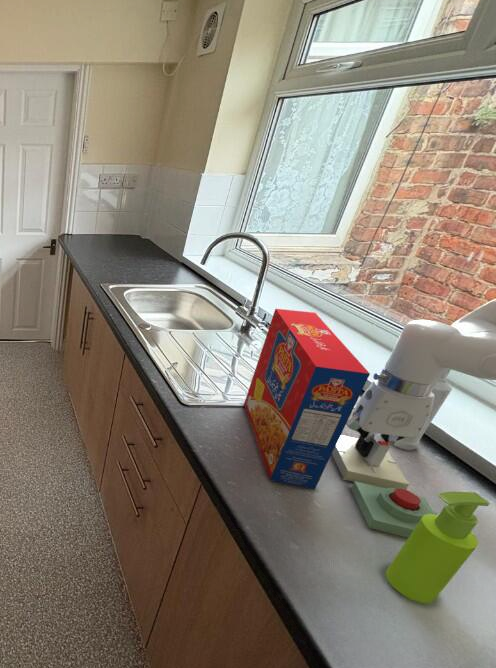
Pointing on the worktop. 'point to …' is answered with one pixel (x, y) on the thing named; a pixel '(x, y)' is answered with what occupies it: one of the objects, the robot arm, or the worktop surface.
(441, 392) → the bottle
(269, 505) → the worktop surface
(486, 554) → the worktop surface
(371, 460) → the tap handle
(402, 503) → the button
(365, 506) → the button box
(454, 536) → the soap dispenser
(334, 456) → the block
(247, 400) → the pasta box
